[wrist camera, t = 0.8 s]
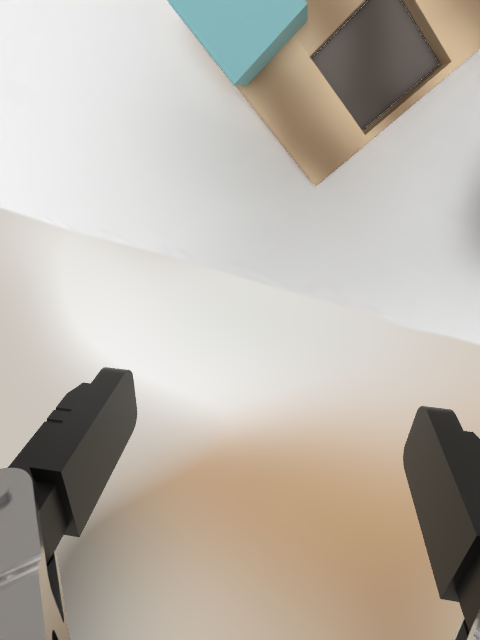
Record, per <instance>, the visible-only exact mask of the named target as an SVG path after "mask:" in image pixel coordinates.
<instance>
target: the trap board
mask: <svg viewBox="0 0 480 640" xmlns="http://www.w3.org/2000/svg"><path fill="white" fill-rule="evenodd" d="M305 1H306V2H307V21H306V23H305V24H304V25H303V26H302V27H301V28H300V29H299V30H298V31H297V32H296V33H295V34H294V35H293V37H292V38H291V39H290V40H289V41H288V42H287V43H286V44H285V45H284V46H283V47H282V48H281V50H280V51H279V52H278V53H277V54H276V55H275V56H274V57H273V58H272V59H271V60H270V61H269V62H268V64H267V65H266V66H265V67H264V68H263V69H262V70H261V71H260V72H259V73H258V74H257V75H256V77H255V78H254V79H253V80H252V81H251V82H250V83H249V84H248V85H247V86H246V87H245V86H238V85H235V86H236V87H237V88H238V89H239V91H240V92H241V93H242V94H243V96H244V97H245V98H246V100H247V101H248V102H249V103H250V105H251V106H252V107H253V108H254V110H255V111H256V112H257V113H258V115H259V116H260V117H261V119H262V120H263V121H264V122H265V124H266V125H267V126H268V127H269V129H270V130H271V131H272V133H273V134H274V135H275V136H276V138H277V139H278V140H279V141H280V143H281V144H282V145H283V146H284V148H285V149H286V150H287V152H288V153H289V154H290V155H291V157H292V158H293V159H294V160H295V162H296V163H297V164H298V166H299V167H300V168H301V169H302V171H303V172H304V173H305V174H306V176H307V177H308V178H309V179H310V181H311V182H312V183H313V185H314V186H315V187H316V186H317V185H318V184H319V183H321V182H322V181H323V180H324V179H325V178H327V177H328V176H329V175H330V174H331V173H332V172H334V171H335V170H336V169H337V168H338V167H340V166H341V165H342V164H343V163H344V162H346V161H347V160H348V159H349V158H350V157H352V156H353V155H354V154H355V153H356V152H357V151H359V150H360V149H361V148H362V147H363V146H365V145H366V144H367V143H368V142H369V141H371V140H372V139H373V138H374V137H375V136H377V135H378V134H379V133H380V132H381V131H382V130H384V129H385V128H386V127H387V126H388V125H390V124H391V123H392V122H393V121H394V120H396V119H397V118H398V117H399V116H400V115H402V114H403V113H404V112H405V111H406V110H407V109H409V108H410V107H411V106H412V105H413V104H415V103H416V102H417V101H418V100H419V99H421V98H422V97H423V96H424V95H425V94H427V93H428V92H429V91H430V90H431V89H433V88H434V87H435V86H436V85H437V84H438V83H440V82H441V81H442V80H443V79H444V78H446V77H447V76H448V75H449V74H450V73H452V72H453V71H454V70H455V69H456V68H458V67H459V66H460V65H461V64H462V63H463V62H465V61H466V60H467V59H468V58H469V57H471V56H472V55H473V54H474V53H475V52H477V51H478V50H479V49H480V0H402V2H403V4H404V5H405V7H406V9H407V10H408V12H409V14H410V15H411V17H412V19H413V20H414V22H415V24H416V25H417V27H418V29H419V30H420V32H421V34H422V35H423V37H424V38H425V40H426V42H427V43H428V45H429V47H430V48H431V50H432V52H433V53H434V55H435V57H436V58H437V60H438V62H439V63H440V65H439V66H438V67H436V66H437V65H438V62H437V60H436V59H435V57H434V55H433V54H432V52H431V50H430V49H429V47H428V45H427V44H426V42H425V40H424V39H423V37H422V36H421V34H420V32H419V31H418V29H417V27H416V26H415V24H414V22H413V21H412V19H411V17H410V16H409V14H408V12H407V11H406V9H405V8H404V6H403V4H402V3H401V1H400V0H369V1H368V2H367V3H366V4H365V5H364V6H363V7H362V8H361V9H360V10H359V11H358V13H357V14H356V15H355V16H354V17H353V18H352V19H351V20H350V21H349V22H348V23H347V24H346V25H345V26H344V27H343V28H342V29H341V30H340V31H339V32H338V33H337V34H336V35H335V36H334V37H333V38H332V39H331V40H330V41H329V42H328V43H327V44H326V45H325V46H324V47H323V48H322V49H321V50H320V51H319V52H318V53H317V54H316V55H315V56H314V57H313V58H312V59H311V57H312V56H313V55H314V54H315V53H316V52H317V51H318V50H319V49H320V48H321V47H322V46H323V45H324V44H325V43H326V42H327V41H328V40H329V39H330V38H331V37H332V36H333V35H334V34H335V33H336V32H337V31H338V30H339V29H340V28H341V27H342V26H343V25H344V24H345V23H346V22H347V21H348V20H349V19H350V18H351V17H352V15H353V14H354V13H355V12H356V11H357V10H358V9H359V8H360V7H361V6H362V5H363V4H364V3H365V2H366V1H367V0H305ZM435 67H436V68H435ZM433 68H435V69H434V70H433V71H432V72H431V73H429V72H430V71H431V70H432V69H433ZM428 73H429V74H428ZM427 74H428V75H427ZM425 75H427V76H426V77H425V78H424V79H422V78H423V77H424V76H425ZM421 79H422V80H421ZM420 80H421V81H420ZM418 81H420V82H419V83H418V84H417V85H415V84H416V83H417V82H418ZM414 85H415V86H414ZM413 86H414V87H413ZM411 87H413V88H412V89H411V90H410V91H408V90H409V89H410V88H411ZM407 91H408V92H407ZM406 92H407V93H406ZM404 93H406V94H405V95H404V96H403V97H401V96H402V95H403V94H404ZM400 97H401V98H400ZM399 98H400V99H399ZM398 99H399V100H398ZM396 100H398V101H397V102H396V103H395V104H393V103H394V102H395V101H396ZM392 104H393V105H392ZM391 105H392V106H391ZM389 106H391V107H390V108H389V109H388V110H386V109H387V108H388V107H389ZM385 110H386V111H385ZM384 111H385V112H384ZM382 112H384V113H383V114H382V115H381V116H379V115H380V114H381V113H382ZM378 116H379V117H378ZM377 117H378V118H377ZM376 118H377V119H376ZM374 119H376V120H375V121H374V122H372V121H373V120H374ZM371 122H372V123H371ZM370 123H371V124H370ZM369 124H370V125H369ZM367 125H369V126H368V127H367V128H365V127H366V126H367ZM364 128H365V129H364ZM363 129H364V130H363ZM362 130H363V131H362Z"/></svg>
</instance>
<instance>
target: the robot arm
mask: <svg viewBox="0 0 480 640" xmlns="http://www.w3.org/2000/svg"><path fill="white" fill-rule="evenodd" d="M136 419H137V406H136V398H135V390H134V381H133V374H132V372H131V371H130V370H123V369H115V368H103V369H102V370H101V371H100V372H99V373H98V375H97V376H96V377H95V379H94V380H93V381H92V383H91V384H89V383H82V384H81V385H79V386H78V387H76V388H75V389H73V390H72V391H70V392H69V393H67V394H66V396H65V397H64V398H63V400H62V401H61V402H60V403H59V404H58V406H57V407H56V410H54V411H53V412H52V413H51V414H50V416H49V417H48V418H47V421H46V422H44V423H43V424H42V426H41V427H40V428H39V429H38V431H37V432H36V433H35V434H34V436H33V437H32V438H31V439H30V441H29V442H28V443H27V444H26V446H25V447H24V448H23V449H22V451H21V452H20V453H19V454H18V456H17V457H16V458H15V460H14V461H13V462H12V463H11V464H10V466H9V467H8V468H4V469H0V640H71V639H70V634H69V629H68V623H67V617H66V610H65V604H64V597H63V591H62V585H61V578H60V572H59V565H58V559H57V553H56V548H57V546H58V544H59V542H60V540H61V538H62V537H63V535H70V536H75V537H80V535H81V533H82V531H83V529H84V526H85V525H86V523H87V521H88V519H89V517H90V515H91V513H92V511H93V509H94V507H95V505H96V503H97V501H98V499H99V497H100V495H101V494H102V492H103V490H104V488H105V486H106V483H107V482H108V480H109V478H110V476H111V474H112V472H113V470H114V468H115V466H116V464H117V462H118V460H119V458H120V456H121V454H122V452H123V450H124V448H125V446H126V444H127V442H128V440H129V438H130V436H131V434H132V432H133V430H134V427H135V424H136ZM403 461H404V469H405V473H406V477H407V480H408V484H409V488H410V491H411V495H412V498H413V502H414V505H415V509H416V513H417V516H418V520H419V523H420V527H421V530H422V534H423V538H424V542H425V545H426V548H427V552H428V556H429V560H430V563H431V567H432V570H433V574H434V578H435V581H436V585H437V588H438V592H439V596H440V599H445V600H451V601H457V602H460V606H461V609H462V612H463V615H464V617H463V619H462V620H461V622H460V624H459V626H458V628H457V631H456V633H455V635H454V637H453V640H480V439H479V438H478V437H477V436H476V435H475V434H474V433H473V432H467V431H463V429H462V427H461V425H460V423H459V421H458V419H457V417H456V415H455V413H454V412H453V411H452V410H450V409H441V408H433V407H424V406H421V407H420V408H419V409H418V410H417V413H416V416H415V419H414V421H413V425H412V427H411V430H410V433H409V436H408V438H407V441H406V444H405V447H404V455H403Z"/></svg>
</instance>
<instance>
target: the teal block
mask: <svg viewBox="0 0 480 640" xmlns="http://www.w3.org/2000/svg"><path fill="white" fill-rule="evenodd" d="M167 1H168V2H169V4H170V5H171V6H172V7H173V9H174V10H175V11H176V13H177V14H178V15H179V16H180V18H181V19H182V20H183V21H184V23H185V24H186V25H187V26H188V28H189V29H190V30H191V32H192V33H193V34H194V35H195V37H196V38H197V39H198V40H199V42H200V43H201V44H202V45H203V47H204V48H205V49H206V51H207V52H208V53H209V54H210V56H211V57H212V58H213V59H214V61H215V62H216V63H217V64H218V66H219V67H220V68H221V70H222V71H223V72H224V73H225V75H226V76H227V77H228V78H229V80H230V81H231V82H232V84H233V85H238V86H245V87H246V86H247V85H248V84H249V83H250V82H251V81H252V80H253V79H254V78H255V77H256V75H257V74H258V73H259V72H260V71H261V70H262V69H263V68H264V67H265V66H266V65H267V64H268V62H269V61H270V60H271V59H272V58H273V57H274V56H275V55H276V54H277V53H278V52H279V51H280V50H281V48H282V47H283V46H284V45H285V44H286V43H287V42H288V41H289V40H290V39H291V38H292V37H293V35H294V34H295V33H296V32H297V31H298V30H299V29H300V28H301V27H302V26H303V25H304V24H305V23H306V21H307V2H306V1H305V0H167Z"/></svg>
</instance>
